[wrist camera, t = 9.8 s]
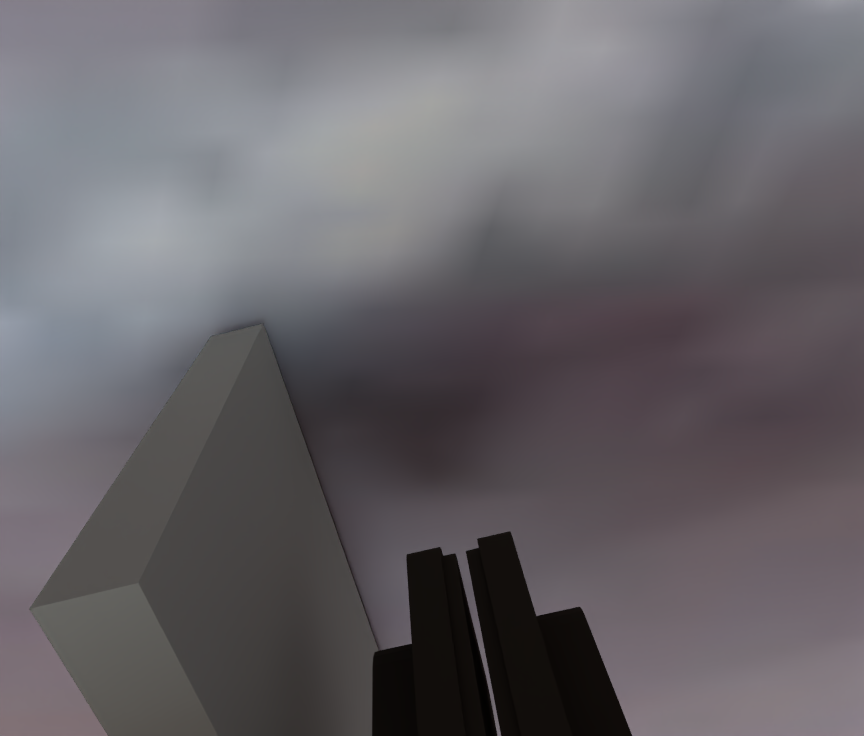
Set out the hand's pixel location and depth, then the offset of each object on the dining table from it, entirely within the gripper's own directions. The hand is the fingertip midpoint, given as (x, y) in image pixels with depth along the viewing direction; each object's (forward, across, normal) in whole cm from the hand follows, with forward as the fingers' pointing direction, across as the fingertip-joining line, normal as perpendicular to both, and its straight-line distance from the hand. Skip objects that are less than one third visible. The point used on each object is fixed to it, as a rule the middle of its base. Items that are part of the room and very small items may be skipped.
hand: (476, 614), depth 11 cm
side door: (+4, +3, +10) cm, 11 cm away
